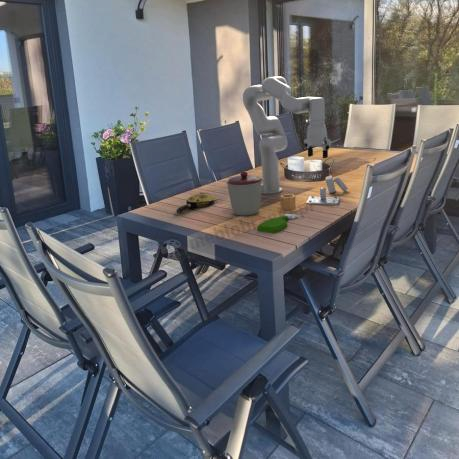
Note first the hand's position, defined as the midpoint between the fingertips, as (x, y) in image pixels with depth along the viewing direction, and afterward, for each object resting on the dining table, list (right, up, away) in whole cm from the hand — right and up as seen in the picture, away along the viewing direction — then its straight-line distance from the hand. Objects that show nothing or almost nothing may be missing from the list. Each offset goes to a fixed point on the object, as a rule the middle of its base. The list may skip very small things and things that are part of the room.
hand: (317, 157), depth 249 cm
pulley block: (-63, -25, +13) cm, 69 cm away
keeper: (+4, -22, +4) cm, 23 cm away
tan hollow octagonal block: (-15, -26, -2) cm, 30 cm away
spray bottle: (-22, -35, -26) cm, 49 cm away
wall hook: (+14, -16, +21) cm, 30 cm away
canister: (-37, -29, -6) cm, 47 cm away
